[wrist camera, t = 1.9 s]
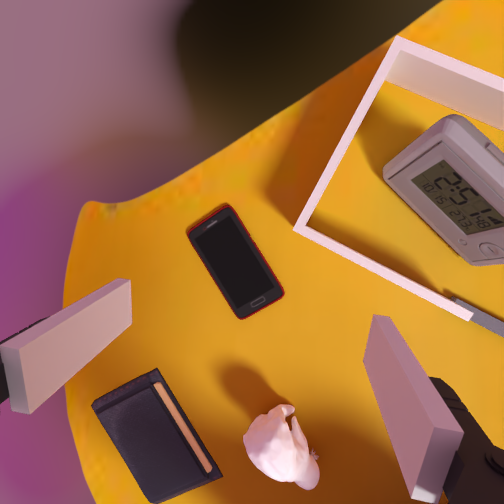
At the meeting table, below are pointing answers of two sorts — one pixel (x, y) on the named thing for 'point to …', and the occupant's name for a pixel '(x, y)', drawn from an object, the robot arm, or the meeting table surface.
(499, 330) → the frame
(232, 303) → the cell phone
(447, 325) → the meeting table surface
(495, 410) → the meeting table surface
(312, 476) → the pale pink lumpy piece
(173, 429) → the wallet
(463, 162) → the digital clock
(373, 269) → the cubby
